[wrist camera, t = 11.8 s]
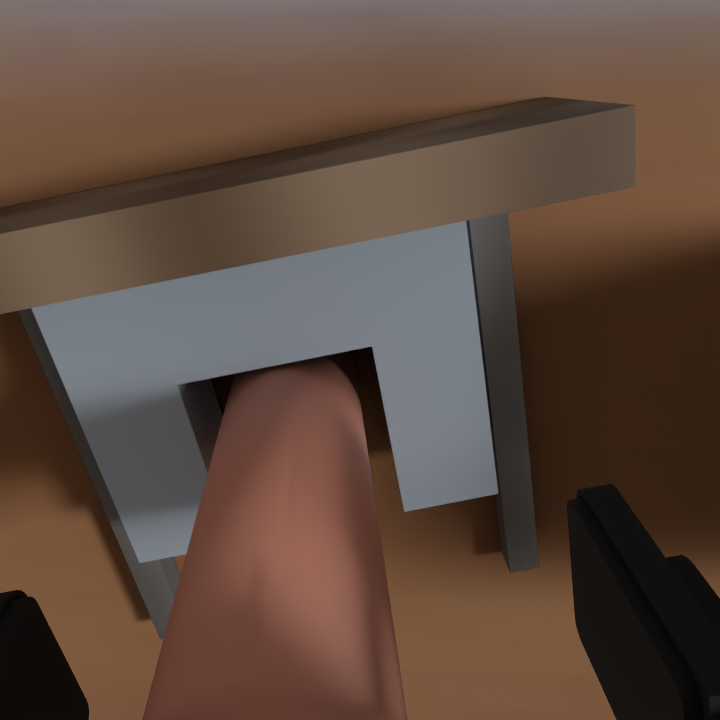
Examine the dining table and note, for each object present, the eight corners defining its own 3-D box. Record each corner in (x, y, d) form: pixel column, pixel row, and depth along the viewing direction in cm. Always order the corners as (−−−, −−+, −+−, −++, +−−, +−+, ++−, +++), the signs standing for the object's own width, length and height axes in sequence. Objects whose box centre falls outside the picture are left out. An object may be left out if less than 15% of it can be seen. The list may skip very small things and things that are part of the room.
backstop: (545, 97, 16) (634, 105, 12) (572, 538, 22) (638, 657, 18) (-61, 220, 17) (-203, 275, 12) (124, 624, 23) (77, 763, 18)
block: (439, 180, 17) (463, 200, 14) (473, 436, 20) (498, 493, 17) (70, 255, 17) (23, 289, 14) (163, 497, 20) (139, 563, 18)
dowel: (343, 310, 18) (387, 652, 7) (366, 417, 20) (431, 836, 9) (220, 335, 18) (87, 712, 8) (252, 440, 20) (180, 884, 9)
